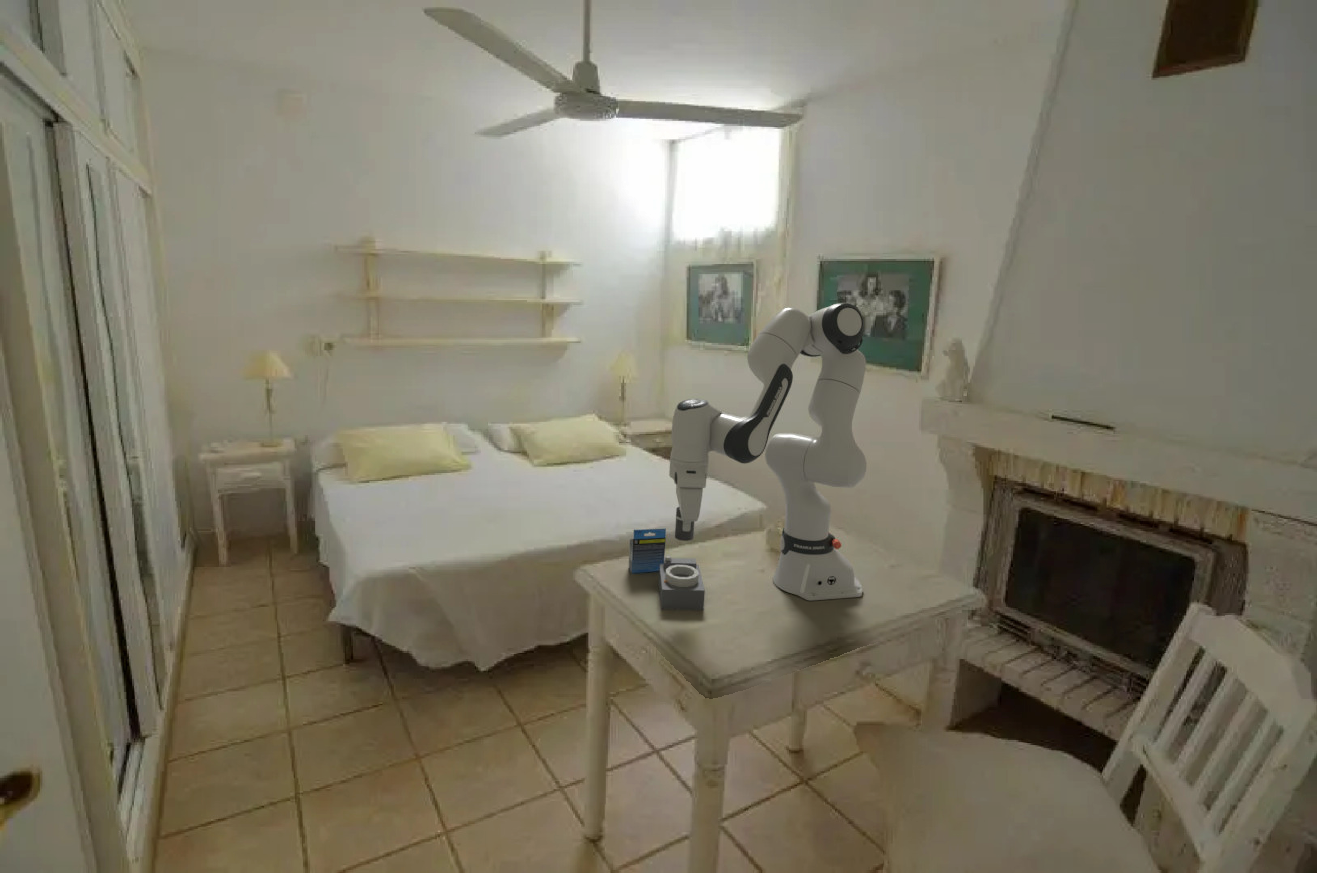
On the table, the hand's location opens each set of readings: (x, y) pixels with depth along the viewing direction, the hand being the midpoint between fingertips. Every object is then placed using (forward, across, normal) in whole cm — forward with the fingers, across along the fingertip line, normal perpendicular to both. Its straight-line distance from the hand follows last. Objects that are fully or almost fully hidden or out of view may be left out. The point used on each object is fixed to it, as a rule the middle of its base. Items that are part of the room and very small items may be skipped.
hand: (685, 525), depth 156 cm
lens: (+3, 0, 0) cm, 3 cm away
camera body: (+19, -2, 0) cm, 19 cm away
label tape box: (+19, -16, -8) cm, 26 cm away
